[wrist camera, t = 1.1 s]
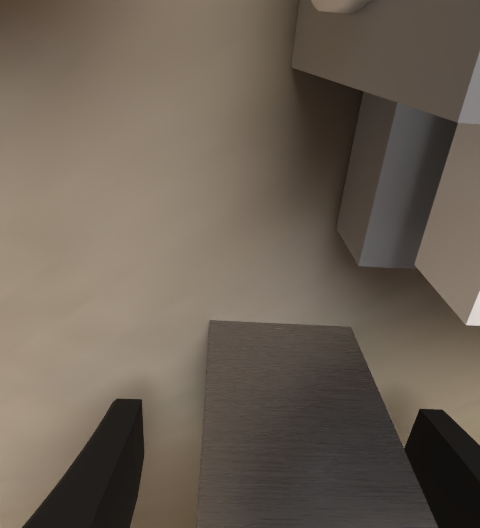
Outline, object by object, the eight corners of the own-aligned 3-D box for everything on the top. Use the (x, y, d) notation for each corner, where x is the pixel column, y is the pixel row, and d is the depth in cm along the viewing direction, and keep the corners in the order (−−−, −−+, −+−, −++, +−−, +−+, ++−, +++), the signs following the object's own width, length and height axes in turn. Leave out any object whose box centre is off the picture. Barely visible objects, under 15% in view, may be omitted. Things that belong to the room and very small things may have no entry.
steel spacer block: (350, 326, 12) (451, 557, 6) (326, 424, 14) (388, 667, 8) (210, 319, 12) (194, 553, 6) (204, 420, 13) (188, 666, 8)
